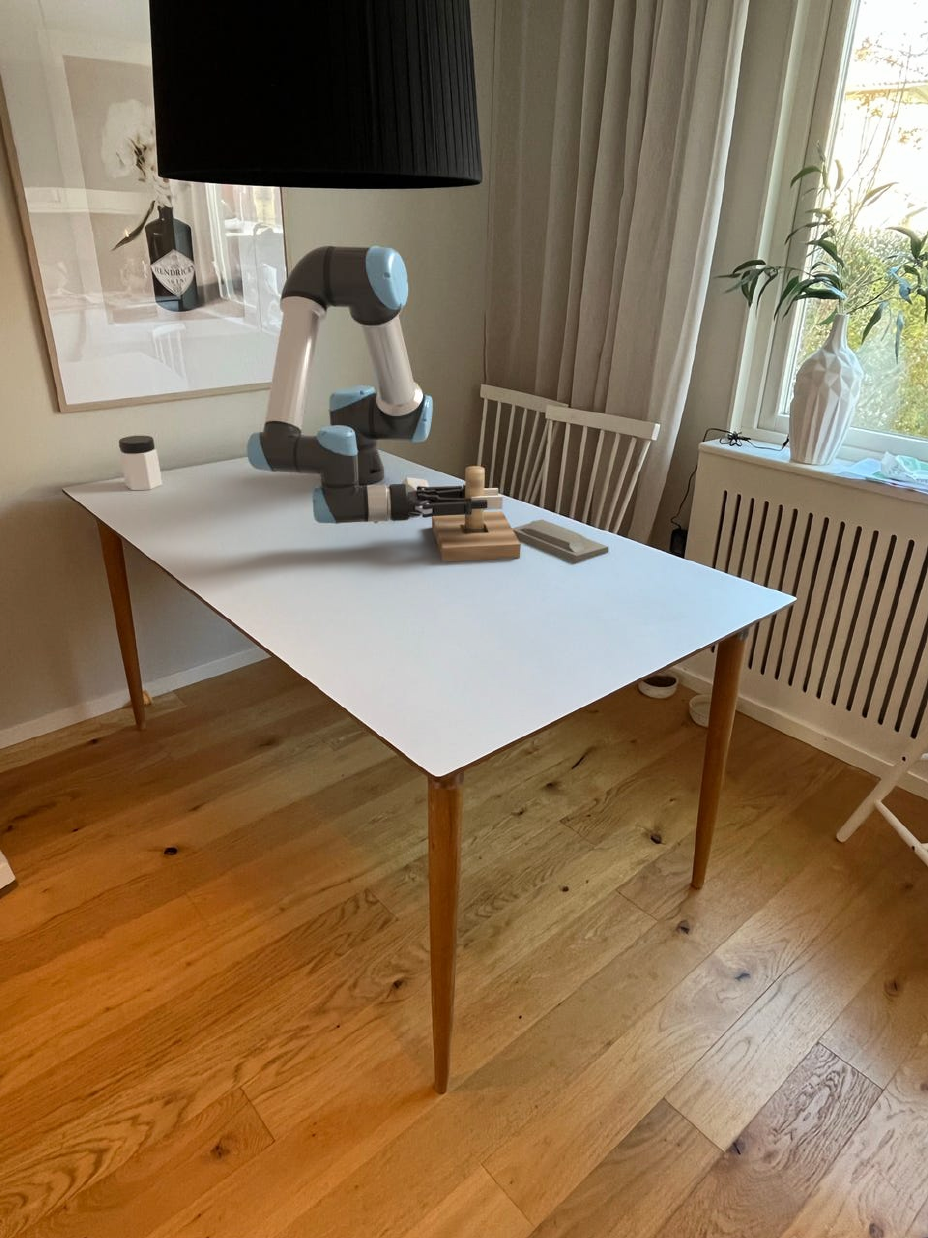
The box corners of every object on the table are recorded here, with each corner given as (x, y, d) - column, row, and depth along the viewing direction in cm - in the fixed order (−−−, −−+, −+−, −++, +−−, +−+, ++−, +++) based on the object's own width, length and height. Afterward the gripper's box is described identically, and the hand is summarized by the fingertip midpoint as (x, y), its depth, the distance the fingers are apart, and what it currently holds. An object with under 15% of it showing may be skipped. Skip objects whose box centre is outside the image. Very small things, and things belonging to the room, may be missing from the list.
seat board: (432, 527, 179) (431, 514, 177) (501, 524, 181) (502, 511, 180) (442, 561, 161) (442, 547, 160) (520, 557, 163) (520, 544, 162)
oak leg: (463, 538, 173) (463, 466, 165) (481, 537, 173) (483, 465, 166) (465, 545, 169) (466, 472, 162) (484, 544, 169) (486, 471, 162)
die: (439, 511, 190) (425, 474, 191) (435, 505, 181) (420, 466, 182) (407, 524, 191) (393, 487, 191) (402, 518, 182) (387, 479, 183)
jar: (143, 479, 209) (134, 433, 203) (168, 482, 206) (161, 436, 201) (119, 488, 201) (109, 441, 196) (145, 492, 199) (136, 445, 193)
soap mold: (574, 566, 161) (576, 550, 159) (508, 538, 175) (508, 523, 173) (608, 554, 167) (610, 539, 165) (541, 528, 181) (542, 513, 179)
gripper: (387, 506, 174) (492, 502, 177) (392, 534, 158) (507, 529, 161) (385, 472, 170) (493, 469, 173) (390, 498, 155) (508, 494, 158)
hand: (499, 498), depth 167 cm, fingers open, 4 cm apart
